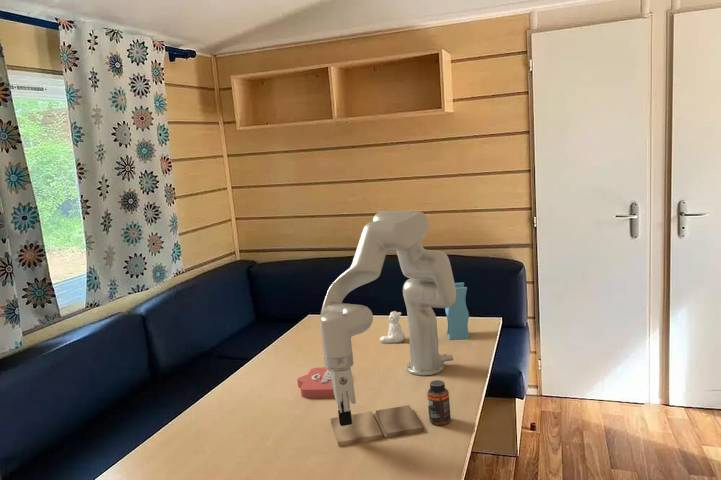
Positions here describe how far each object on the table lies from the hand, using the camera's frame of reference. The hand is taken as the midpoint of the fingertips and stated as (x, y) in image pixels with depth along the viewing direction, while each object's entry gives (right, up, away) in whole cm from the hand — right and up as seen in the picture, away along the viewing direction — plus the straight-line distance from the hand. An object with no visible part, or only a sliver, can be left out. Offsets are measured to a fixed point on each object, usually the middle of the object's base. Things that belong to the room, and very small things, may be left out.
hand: (345, 423), depth 162 cm
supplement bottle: (+26, -1, +6) cm, 27 cm away
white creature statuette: (+17, +10, +73) cm, 75 cm away
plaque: (-9, +1, +36) cm, 37 cm away
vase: (+42, +12, +72) cm, 84 cm away
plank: (+3, -3, +5) cm, 6 cm away
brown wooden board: (+15, -2, +7) cm, 16 cm away
